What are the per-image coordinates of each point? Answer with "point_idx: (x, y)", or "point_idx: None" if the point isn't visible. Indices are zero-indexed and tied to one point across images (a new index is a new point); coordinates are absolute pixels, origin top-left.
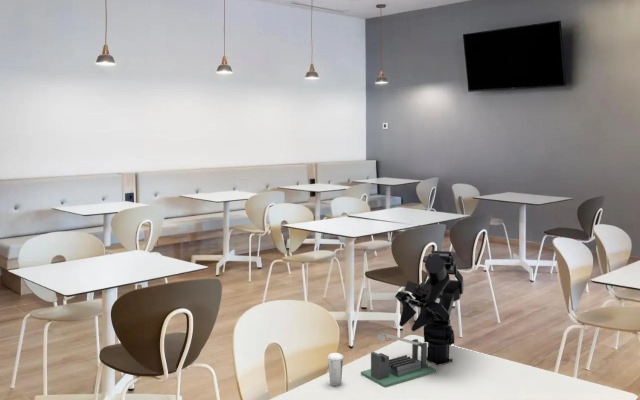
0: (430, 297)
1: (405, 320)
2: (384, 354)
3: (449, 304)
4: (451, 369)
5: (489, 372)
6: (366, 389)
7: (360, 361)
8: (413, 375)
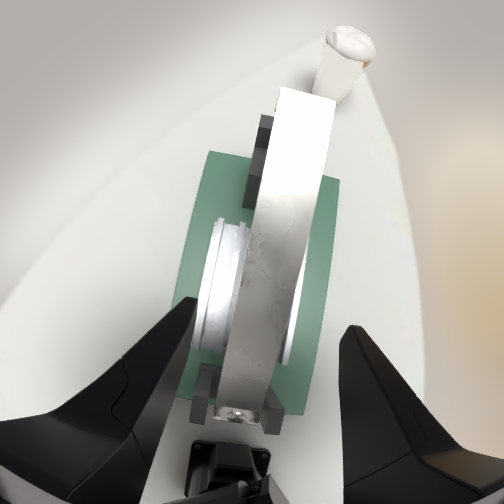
0: None
1: (351, 395)
2: None
3: None
4: None
5: None
6: (243, 114)
7: (410, 267)
8: (183, 283)
